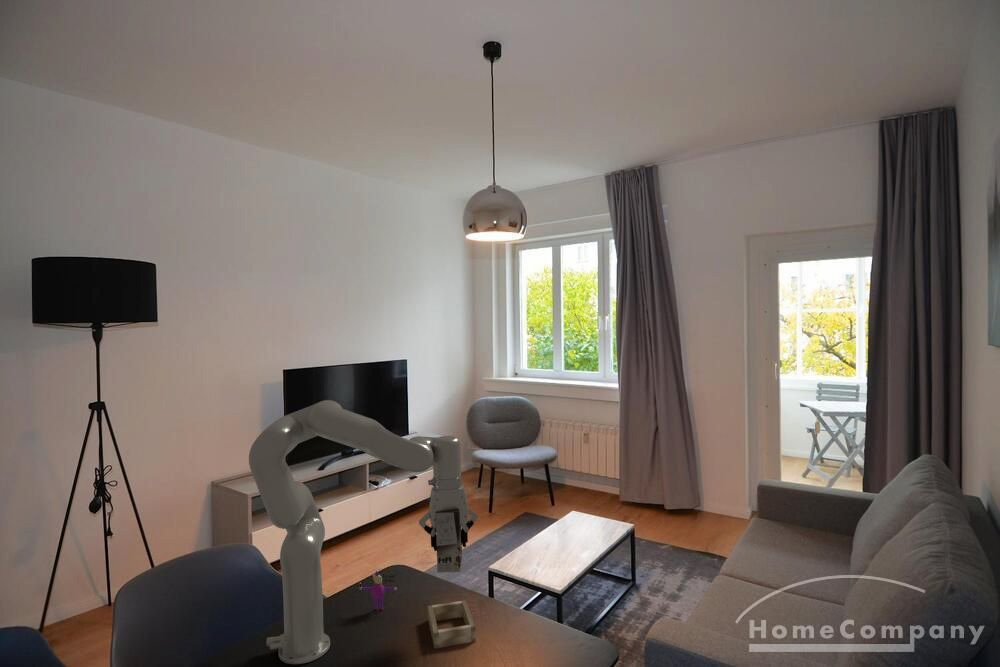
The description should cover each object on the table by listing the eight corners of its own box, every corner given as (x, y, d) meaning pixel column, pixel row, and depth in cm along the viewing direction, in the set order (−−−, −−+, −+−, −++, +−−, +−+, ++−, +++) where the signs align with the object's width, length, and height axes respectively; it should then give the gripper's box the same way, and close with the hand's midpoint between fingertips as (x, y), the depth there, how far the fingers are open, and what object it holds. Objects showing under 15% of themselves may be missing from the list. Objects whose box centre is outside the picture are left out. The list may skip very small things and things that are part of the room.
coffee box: (461, 572, 142) (459, 511, 141) (436, 573, 142) (434, 512, 141) (462, 557, 151) (461, 500, 151) (440, 558, 151) (438, 501, 150)
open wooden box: (434, 648, 138) (434, 633, 138) (428, 619, 152) (427, 605, 152) (475, 641, 141) (475, 626, 141) (466, 613, 155) (465, 600, 155)
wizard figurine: (398, 608, 159) (397, 568, 158) (395, 614, 155) (394, 573, 155) (361, 607, 159) (360, 567, 159) (357, 613, 156) (356, 572, 156)
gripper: (416, 489, 140) (418, 557, 140) (481, 483, 144) (483, 548, 145) (414, 481, 147) (416, 545, 148) (476, 475, 152) (478, 537, 152)
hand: (449, 546), depth 146 cm, fingers closed on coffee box, 7 cm apart
